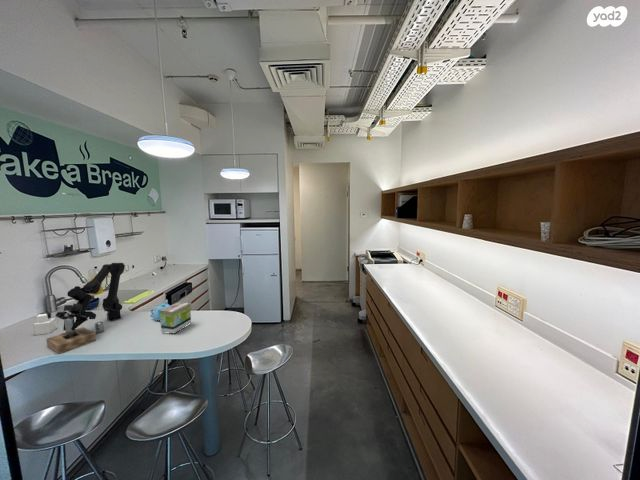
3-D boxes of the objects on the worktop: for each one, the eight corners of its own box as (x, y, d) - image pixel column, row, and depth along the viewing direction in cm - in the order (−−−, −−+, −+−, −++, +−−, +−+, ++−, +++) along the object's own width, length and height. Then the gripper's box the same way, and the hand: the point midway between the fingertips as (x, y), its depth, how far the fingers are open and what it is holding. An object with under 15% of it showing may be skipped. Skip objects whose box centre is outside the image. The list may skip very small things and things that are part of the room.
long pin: (77, 337, 150) (74, 316, 148) (75, 340, 147) (72, 319, 145) (68, 339, 148) (65, 317, 147) (65, 342, 145) (62, 320, 143)
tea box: (175, 335, 158) (173, 311, 156) (160, 333, 160) (159, 310, 158) (191, 324, 172) (190, 302, 170) (178, 322, 174) (177, 301, 172)
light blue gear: (147, 319, 179) (146, 305, 178) (169, 311, 192) (168, 298, 190) (159, 324, 172) (157, 309, 170) (181, 316, 184) (179, 302, 183)
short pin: (102, 330, 164) (101, 321, 163) (105, 331, 162) (104, 322, 161) (94, 332, 160) (93, 323, 159) (97, 334, 158) (96, 325, 157)
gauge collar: (83, 333, 158) (82, 327, 158) (95, 340, 151) (95, 333, 150) (47, 346, 145) (46, 338, 144) (58, 354, 137) (57, 346, 136)
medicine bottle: (42, 330, 163) (39, 312, 162) (56, 328, 166) (54, 310, 164) (34, 335, 157) (31, 316, 155) (50, 333, 159) (47, 314, 157)
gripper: (56, 298, 148) (38, 325, 138) (89, 298, 149) (75, 325, 139) (70, 306, 157) (55, 332, 147) (102, 305, 158) (89, 331, 148)
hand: (68, 330), depth 145 cm, fingers closed on long pin, 4 cm apart
